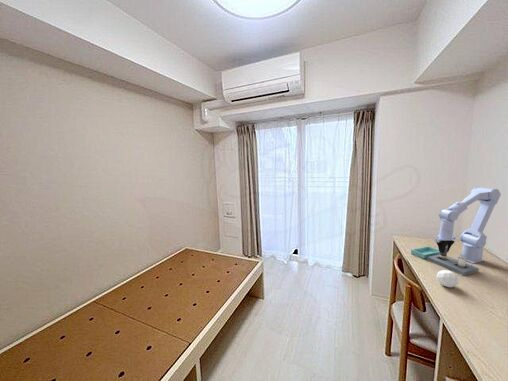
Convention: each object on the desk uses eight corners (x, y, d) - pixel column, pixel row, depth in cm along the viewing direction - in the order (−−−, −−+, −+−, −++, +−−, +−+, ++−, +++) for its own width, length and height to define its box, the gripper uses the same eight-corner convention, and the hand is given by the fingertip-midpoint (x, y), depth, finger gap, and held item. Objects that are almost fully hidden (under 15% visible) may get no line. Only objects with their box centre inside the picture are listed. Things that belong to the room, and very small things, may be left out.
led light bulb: (441, 255, 128) (443, 243, 126) (447, 258, 125) (449, 245, 124) (438, 256, 127) (439, 244, 125) (444, 258, 124) (445, 246, 123)
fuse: (459, 267, 120) (461, 254, 118) (465, 270, 117) (467, 256, 115) (455, 268, 119) (457, 255, 117) (462, 271, 116) (464, 257, 115)
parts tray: (427, 250, 141) (428, 246, 141) (441, 255, 134) (441, 251, 133) (411, 253, 137) (411, 249, 136) (424, 259, 129) (424, 254, 129)
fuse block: (440, 256, 132) (441, 253, 132) (478, 271, 115) (478, 268, 115) (426, 259, 129) (427, 256, 128) (463, 275, 112) (463, 272, 111)
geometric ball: (445, 292, 103) (439, 282, 100) (436, 278, 109) (431, 268, 107) (464, 288, 99) (459, 278, 97) (454, 274, 106) (449, 264, 104)
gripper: (447, 226, 129) (444, 247, 131) (430, 229, 125) (427, 251, 127) (461, 230, 122) (458, 252, 124) (443, 233, 118) (440, 256, 120)
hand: (443, 251), depth 125 cm, fingers closed on led light bulb, 3 cm apart
